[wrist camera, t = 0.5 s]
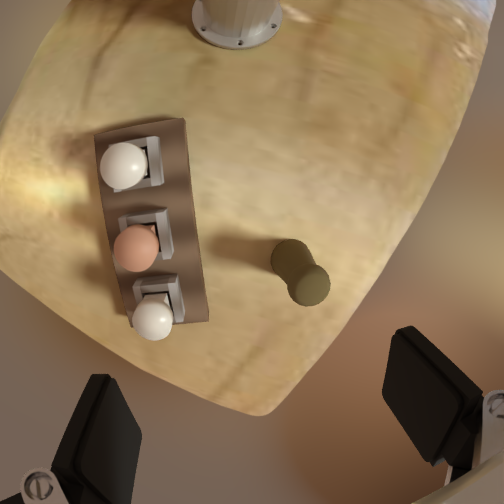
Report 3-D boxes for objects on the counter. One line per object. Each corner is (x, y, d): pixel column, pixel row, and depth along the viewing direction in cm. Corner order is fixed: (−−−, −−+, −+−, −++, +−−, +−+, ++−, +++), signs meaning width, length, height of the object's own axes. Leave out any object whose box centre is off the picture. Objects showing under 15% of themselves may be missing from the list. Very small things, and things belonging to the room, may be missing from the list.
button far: (137, 289, 36) (127, 307, 32) (172, 286, 37) (166, 304, 32) (145, 320, 38) (137, 341, 33) (179, 318, 38) (175, 339, 34)
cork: (263, 268, 44) (278, 304, 33) (282, 232, 42) (304, 258, 32) (298, 283, 45) (320, 320, 35) (317, 249, 44) (346, 278, 33)
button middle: (123, 221, 33) (109, 231, 29) (160, 216, 34) (151, 225, 29) (130, 258, 35) (118, 273, 30) (166, 254, 35) (159, 269, 31)
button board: (102, 135, 35) (84, 133, 29) (185, 120, 36) (179, 114, 30) (135, 317, 44) (126, 338, 38) (208, 311, 45) (208, 332, 39)
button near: (113, 148, 30) (97, 147, 26) (151, 140, 31) (140, 138, 26) (117, 187, 32) (103, 192, 27) (155, 181, 32) (145, 185, 28)
